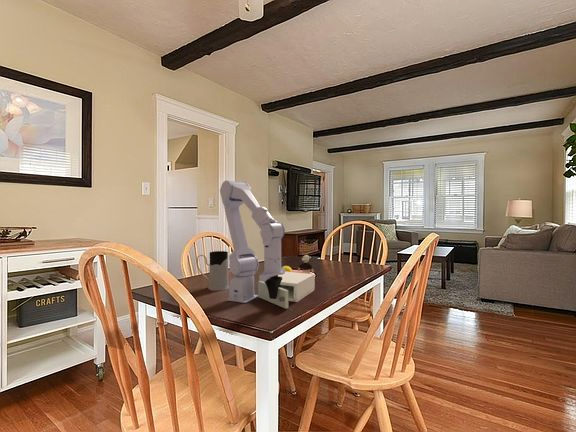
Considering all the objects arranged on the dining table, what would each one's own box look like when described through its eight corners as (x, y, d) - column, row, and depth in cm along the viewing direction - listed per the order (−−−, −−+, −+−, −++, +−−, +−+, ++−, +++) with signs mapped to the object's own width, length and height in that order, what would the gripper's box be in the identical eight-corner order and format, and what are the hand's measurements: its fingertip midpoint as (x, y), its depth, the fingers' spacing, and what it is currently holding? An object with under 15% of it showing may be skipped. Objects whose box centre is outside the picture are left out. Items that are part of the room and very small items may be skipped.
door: (282, 309, 104) (282, 291, 104) (255, 297, 118) (255, 281, 118) (288, 307, 105) (288, 290, 105) (261, 296, 119) (260, 280, 119)
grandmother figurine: (315, 283, 142) (315, 254, 142) (313, 285, 138) (313, 255, 138) (298, 282, 144) (298, 254, 144) (296, 283, 140) (296, 255, 140)
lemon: (294, 277, 155) (295, 267, 154) (286, 279, 151) (287, 268, 150) (284, 273, 160) (285, 263, 159) (276, 275, 156) (277, 264, 155)
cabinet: (296, 301, 114) (296, 283, 113) (260, 296, 120) (260, 279, 120) (314, 290, 130) (314, 274, 130) (281, 286, 136) (281, 271, 136)
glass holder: (225, 290, 129) (225, 254, 129) (192, 289, 131) (191, 253, 131) (232, 285, 138) (232, 251, 137) (201, 284, 140) (201, 250, 139)
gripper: (272, 262, 99) (273, 305, 99) (292, 256, 112) (292, 294, 112) (253, 260, 102) (253, 303, 102) (274, 254, 115) (275, 292, 115)
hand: (273, 298), depth 107 cm, fingers closed
